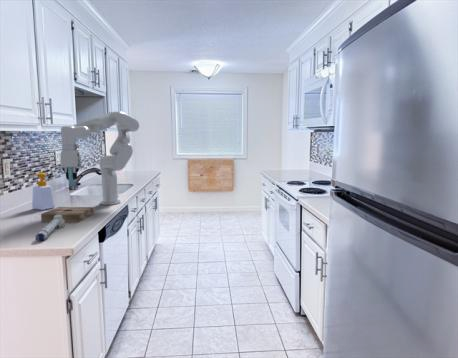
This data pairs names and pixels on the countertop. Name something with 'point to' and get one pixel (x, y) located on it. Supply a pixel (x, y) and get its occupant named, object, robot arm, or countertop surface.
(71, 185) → the peg
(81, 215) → the socket block
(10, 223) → the countertop surface
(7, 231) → the countertop surface
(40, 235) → the white handheld massager
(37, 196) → the soap bottle
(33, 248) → the countertop surface
